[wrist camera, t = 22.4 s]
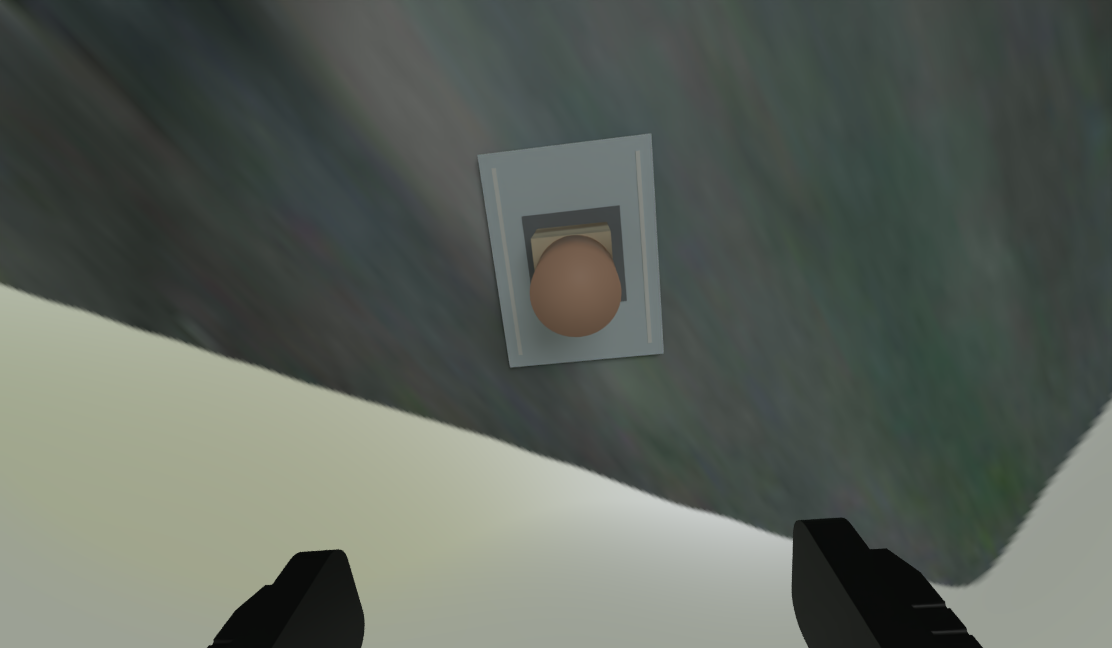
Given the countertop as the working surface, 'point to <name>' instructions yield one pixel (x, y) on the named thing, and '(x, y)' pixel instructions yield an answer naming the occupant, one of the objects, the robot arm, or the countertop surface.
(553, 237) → the birch cube
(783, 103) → the countertop surface
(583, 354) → the base
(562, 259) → the terracotta cylinder
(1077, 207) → the countertop surface
